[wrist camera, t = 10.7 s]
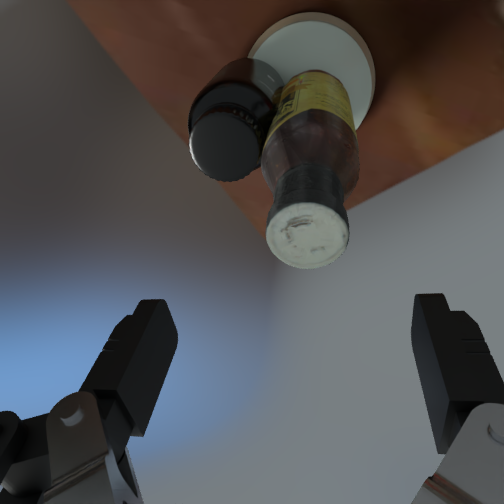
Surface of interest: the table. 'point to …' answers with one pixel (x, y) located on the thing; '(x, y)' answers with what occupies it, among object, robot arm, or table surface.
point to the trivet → (320, 54)
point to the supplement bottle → (234, 119)
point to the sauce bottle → (310, 170)
